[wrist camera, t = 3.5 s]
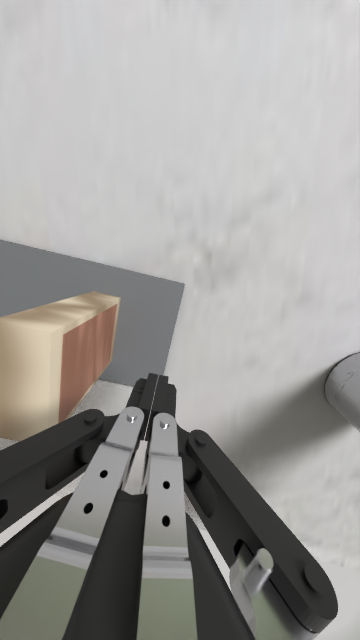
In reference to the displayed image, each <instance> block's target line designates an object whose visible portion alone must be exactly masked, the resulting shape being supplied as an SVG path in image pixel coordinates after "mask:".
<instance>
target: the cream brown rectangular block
mask: <svg viewBox="0 0 360 640" xmlns="http://www.w3.org/2000/svg"><path fill="white" fill-rule="evenodd" d="M120 300H121V297H117V296H112V295H108V294H104V293H99V292H95V291H92V292H89V293H85V294H82V295H78V296H75V297H71V298H68V299H64V300H61V301H57V302H53V303H50V304H46V305H43V306H39V307H36V308H32V309H29V310H25V311H21V312H18V313H14V314H11V315H7V316H4V317H0V438H5V439H11V440H16V441H22V440H24V439H26V438H28V437H31V436H33V435H35V434H37V433H39V432H41V431H43V430H45V429H48V428H50V427H52V426H54V425H56V424H58V423H60V422H62V421H64V420H67V419H69V417H70V416H71V415H72V413H73V412H74V411H75V409H76V408H77V407H78V405H79V404H80V403H81V401H82V400H83V399H84V397H85V396H86V395H87V393H88V392H89V391H90V389H91V388H92V387H93V385H94V384H95V383H96V381H97V380H98V379H99V377H100V376H101V375H102V373H103V372H104V371H105V369H106V368H107V367H108V365H109V364H110V363H111V361H112V357H113V350H114V342H115V335H116V328H117V321H118V314H119V307H120Z"/></svg>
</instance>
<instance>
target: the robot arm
mask: <svg viewBox="0 0 360 640" xmlns="http://www.w3.org/2000/svg"><path fill="white" fill-rule="evenodd" d="M157 379H158V382H157ZM156 383H157V386H156ZM155 388H156V391H155ZM154 392H155V395H154ZM325 395H326V398H327V400H328V402H329V403H330V404H331V405H332V406H333V407H334V408H335V409H336V410H337V411H338V412H339V413H340V414H341V415H342V416H343V417H344V418H345V419H346V420H348V421H349V422H350V423H351V424H352V425H353V426H354V427H355V428H356V429H357V430H358V431H359V432H360V353H357V354H354V355H352V356H350V357H348V358H346V359H345V360H343V361H342V362H340V363H339V364H338V365H337V366H336V367H335V368H334V369H333V370H332V372H331V373H330V375H329V376H328V379H327V381H326V385H325ZM153 397H154V400H153ZM152 401H153V404H152ZM151 406H152V409H151ZM150 410H151V414H150ZM175 410H176V388H175V386H174V385H172V384H168V376H163V375H159V378H158V374H154V373H149V375H148V378H147V379H143V378H140V379H139V380H137V381H136V383H135V385H134V388H133V390H132V393H131V395H130V398H129V400H128V403H127V405H126V408H125V409H123V410H122V411H121V413H120V414H118V415H114V416H104V414H103V412H102V411H100V410H97V409H89V410H86V411H84V412H81V413H79V414H77V415H75V416H73V417H71V418H69V419H67V420H64V421H62V422H60V423H58V424H56V425H54V426H52V427H50V428H48V429H45V430H43V431H41V432H39V433H37V434H35V435H33V436H31V437H28V438H26V439H24V440H22V441H20V442H18V443H16V444H14V445H12V446H9V447H7V448H5V449H3V450H1V451H0V533H1V532H3V531H4V530H5V529H7V528H8V527H10V526H11V525H12V524H14V523H15V522H16V521H18V520H19V519H20V518H22V517H23V516H25V515H26V514H27V513H29V512H30V511H32V510H33V509H34V508H36V507H37V506H38V505H40V504H41V503H42V502H44V501H45V500H46V499H48V498H49V497H51V496H52V495H53V494H55V493H56V492H58V491H59V490H60V489H62V488H63V487H64V486H66V485H67V484H69V483H70V482H71V481H73V480H74V479H75V478H77V477H78V476H79V475H81V474H82V473H84V472H85V473H84V475H83V477H82V479H81V480H80V482H79V484H78V486H77V488H76V490H75V491H74V492H73V493H71V494H69V495H67V496H65V497H63V498H62V499H60V500H59V501H57V502H56V503H54V504H53V505H52V506H50V507H49V508H48V509H47V510H45V511H44V512H43V513H42V514H40V515H39V516H38V517H37V518H36V519H34V520H33V521H32V522H31V523H29V524H28V525H27V526H26V527H24V528H23V529H22V530H21V531H19V532H18V533H17V534H16V535H14V536H13V537H12V538H11V539H10V540H8V541H7V542H6V543H4V544H3V545H2V546H1V547H0V640H313V639H314V638H315V637H316V636H317V635H318V634H319V633H320V632H321V631H322V630H323V629H324V628H325V627H326V626H327V625H328V624H329V623H330V622H331V621H332V620H333V619H334V618H335V617H336V615H337V612H338V603H337V598H336V594H335V591H334V588H333V586H332V584H331V582H330V580H329V578H328V576H327V575H326V573H325V571H324V570H323V569H322V567H321V566H320V565H319V563H318V562H317V561H316V560H315V559H314V557H313V556H312V555H311V554H310V553H309V552H308V550H307V549H306V548H305V547H304V546H303V545H302V543H301V542H300V541H299V540H298V539H297V538H296V536H295V535H294V534H293V533H292V532H291V531H290V529H289V528H288V527H287V526H286V525H285V524H284V523H283V521H282V520H281V519H280V518H279V517H278V516H277V514H276V513H275V512H274V511H273V510H272V509H271V507H270V506H269V505H268V504H267V503H266V502H265V500H264V499H263V498H262V497H261V496H260V495H259V493H258V492H257V491H256V490H255V489H254V488H253V486H252V485H251V484H250V483H249V482H248V481H247V479H246V478H245V477H244V476H243V475H242V474H241V472H240V471H239V470H238V469H237V468H236V467H235V465H234V464H233V463H232V462H231V461H230V460H229V458H228V457H227V456H226V455H225V454H224V453H223V451H222V450H221V449H220V448H219V447H218V446H217V444H216V443H215V442H214V441H213V440H212V439H211V437H210V436H209V435H208V434H207V433H205V432H204V431H201V430H193V431H191V432H190V433H189V432H187V431H185V430H183V429H182V428H180V427H179V425H178V424H177V422H176V420H175ZM149 415H150V418H149ZM148 419H149V423H148ZM147 423H148V428H147ZM146 428H147V432H146ZM145 432H146V437H145V441H148V444H147V449H146V453H145V459H144V467H143V475H142V484H141V491H140V494H138V495H130V494H128V493H126V492H124V489H125V486H126V483H127V480H128V477H129V474H130V471H131V468H132V464H133V461H134V458H135V455H136V452H137V450H138V447H139V444H140V440H144V436H145ZM184 491H185V493H186V495H187V496H188V498H189V500H190V502H191V503H192V505H193V507H194V508H195V510H196V512H197V514H198V515H199V517H200V519H201V520H202V522H203V524H204V526H205V527H206V529H207V531H208V532H209V534H210V536H211V538H212V539H213V541H214V543H215V544H216V546H217V548H218V550H219V551H220V553H221V555H222V556H223V558H224V560H225V562H226V563H227V565H228V567H229V568H230V587H231V591H232V593H231V591H230V589H229V587H228V585H227V583H226V581H225V579H224V577H223V575H222V574H221V572H220V570H219V568H218V566H217V564H216V562H215V560H214V558H213V556H212V554H211V553H210V551H209V549H208V547H207V545H206V543H205V541H204V539H203V537H202V535H201V533H200V531H199V529H198V528H197V526H196V524H195V523H194V521H193V520H192V518H191V517H190V516H189V515H188V514H187V513H186V512H185V500H184ZM232 594H233V595H232Z"/></svg>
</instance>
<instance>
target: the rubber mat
mask: <svg viewBox="0 0 360 640" xmlns="http://www.w3.org/2000/svg"><path fill="white" fill-rule="evenodd" d="M184 285H185V284H183V283H179V282H175V281H171V280H167V279H162V278H158V277H154V276H150V275H146V274H141V273H137V272H133V271H129V270H125V269H121V268H116V267H112V266H108V265H104V264H100V263H95V262H91V261H87V260H83V259H79V258H75V257H70V256H66V255H62V254H58V253H54V252H49V251H45V250H41V249H37V248H33V247H29V246H24V245H20V244H16V243H12V242H8V241H3V240H0V317H4V316H7V315H11V314H14V313H18V312H21V311H25V310H29V309H32V308H36V307H39V306H43V305H46V304H50V303H53V302H57V301H61V300H64V299H68V298H71V297H75V296H78V295H82V294H85V293H89V292H92V291H95V292H99V293H104V294H108V295H112V296H117V297H121V300H120V307H119V314H118V321H117V328H116V335H115V342H114V350H113V357H112V361H111V363H110V364H109V365H108V367H107V368H106V369H105V371H104V372H103V373H102V375H101V376H100V377H99V379H101V380H106V381H110V382H115V383H120V384H125V385H130V386H134V385H135V383H136V381H137V380H139V379H140V378H143V379H147V378H148V375H149V373H154V374H158V378H159V375H163V373H164V369H165V365H166V361H167V357H168V352H169V348H170V344H171V340H172V335H173V331H174V327H175V323H176V319H177V314H178V310H179V306H180V302H181V298H182V293H183V289H184ZM157 382H158V379H157ZM156 386H157V383H156ZM155 391H156V388H155Z"/></svg>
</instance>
